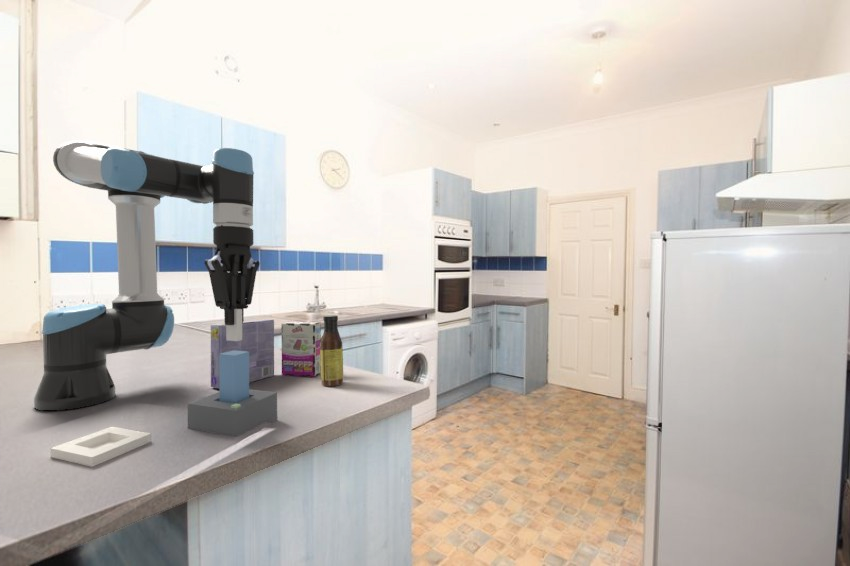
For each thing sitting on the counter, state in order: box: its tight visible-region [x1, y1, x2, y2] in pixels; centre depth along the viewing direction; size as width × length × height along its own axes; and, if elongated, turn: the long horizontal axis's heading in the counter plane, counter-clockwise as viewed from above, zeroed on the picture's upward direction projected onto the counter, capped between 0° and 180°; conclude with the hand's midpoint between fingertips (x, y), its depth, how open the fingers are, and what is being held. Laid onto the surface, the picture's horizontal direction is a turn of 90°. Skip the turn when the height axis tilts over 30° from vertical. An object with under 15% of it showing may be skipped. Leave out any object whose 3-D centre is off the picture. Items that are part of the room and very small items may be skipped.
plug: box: [218, 350, 250, 403], centre depth 85 cm, size 4×4×14 cm
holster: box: [50, 426, 152, 467], centre depth 72 cm, size 10×10×2 cm
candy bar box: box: [281, 321, 322, 378], centre depth 127 cm, size 11×5×16 cm, turn 81°
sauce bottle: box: [320, 314, 344, 387], centre depth 116 cm, size 7×6×20 cm
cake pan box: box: [210, 319, 275, 390], centre depth 118 cm, size 19×5×18 cm, turn 150°
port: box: [187, 388, 278, 437], centre depth 85 cm, size 12×12×6 cm
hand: (234, 340), depth 84 cm, fingers closed
